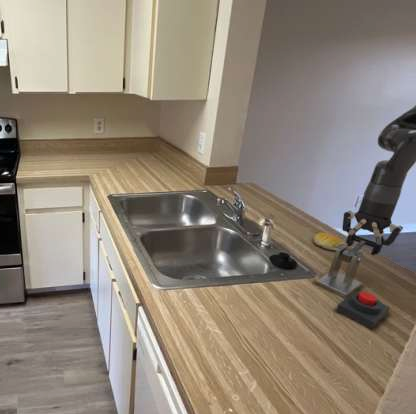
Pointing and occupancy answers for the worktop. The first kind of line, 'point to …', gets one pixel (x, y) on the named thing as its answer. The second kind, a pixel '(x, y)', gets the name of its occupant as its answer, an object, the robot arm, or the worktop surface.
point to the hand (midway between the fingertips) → (361, 249)
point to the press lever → (356, 248)
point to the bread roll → (328, 241)
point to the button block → (363, 310)
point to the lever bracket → (341, 275)
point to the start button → (367, 298)
